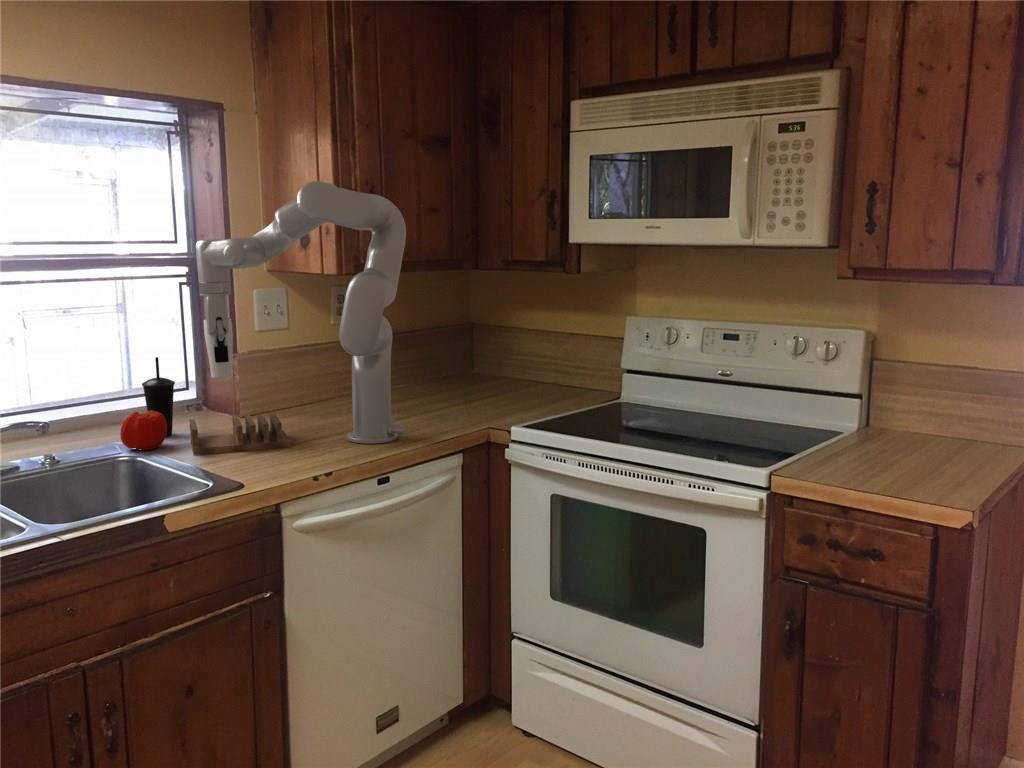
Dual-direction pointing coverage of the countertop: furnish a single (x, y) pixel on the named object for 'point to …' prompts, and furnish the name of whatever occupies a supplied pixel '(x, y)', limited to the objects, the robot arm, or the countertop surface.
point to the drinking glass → (217, 369)
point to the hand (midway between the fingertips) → (220, 359)
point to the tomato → (144, 430)
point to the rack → (242, 436)
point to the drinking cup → (160, 397)
